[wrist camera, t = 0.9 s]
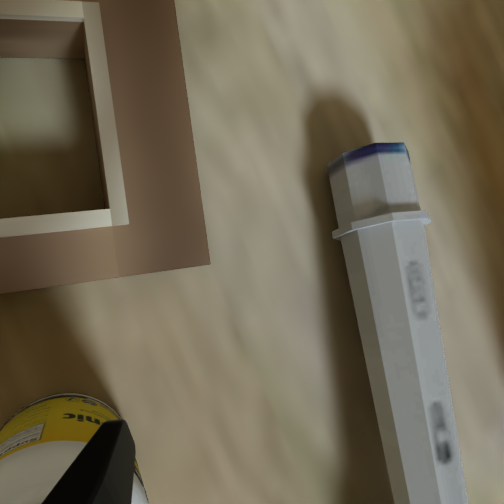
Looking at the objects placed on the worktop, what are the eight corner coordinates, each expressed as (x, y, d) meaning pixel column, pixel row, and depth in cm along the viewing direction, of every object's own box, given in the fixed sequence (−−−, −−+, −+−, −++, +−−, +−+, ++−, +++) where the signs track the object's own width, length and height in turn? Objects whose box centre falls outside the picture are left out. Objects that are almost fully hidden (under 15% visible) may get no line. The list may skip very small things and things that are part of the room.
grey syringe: (441, 139, 21) (579, 750, 18) (363, 185, 28) (453, 645, 24) (343, 140, 20) (474, 819, 16) (283, 189, 26) (367, 687, 22)
